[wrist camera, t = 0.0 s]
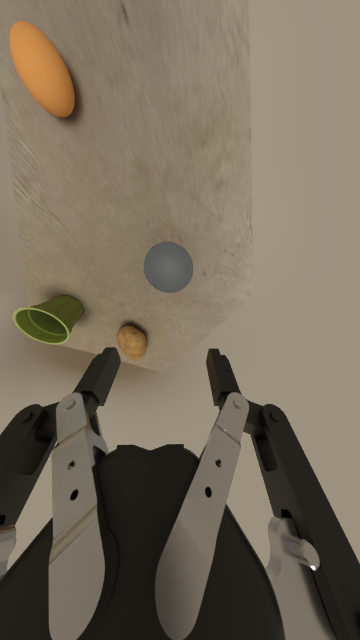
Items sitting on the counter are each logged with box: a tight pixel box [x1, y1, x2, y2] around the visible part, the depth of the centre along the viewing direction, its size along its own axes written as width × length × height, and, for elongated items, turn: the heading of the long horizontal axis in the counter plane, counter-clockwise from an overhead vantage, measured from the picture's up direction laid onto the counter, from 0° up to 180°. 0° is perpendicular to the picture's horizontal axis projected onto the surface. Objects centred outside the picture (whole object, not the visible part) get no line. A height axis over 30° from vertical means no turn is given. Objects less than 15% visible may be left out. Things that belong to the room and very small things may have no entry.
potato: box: [117, 326, 147, 360], centre depth 47 cm, size 10×14×8 cm
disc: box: [144, 242, 193, 293], centre depth 36 cm, size 13×13×1 cm
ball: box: [9, 21, 75, 117], centre depth 18 cm, size 6×6×6 cm
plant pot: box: [13, 296, 83, 344], centre depth 38 cm, size 12×12×11 cm
